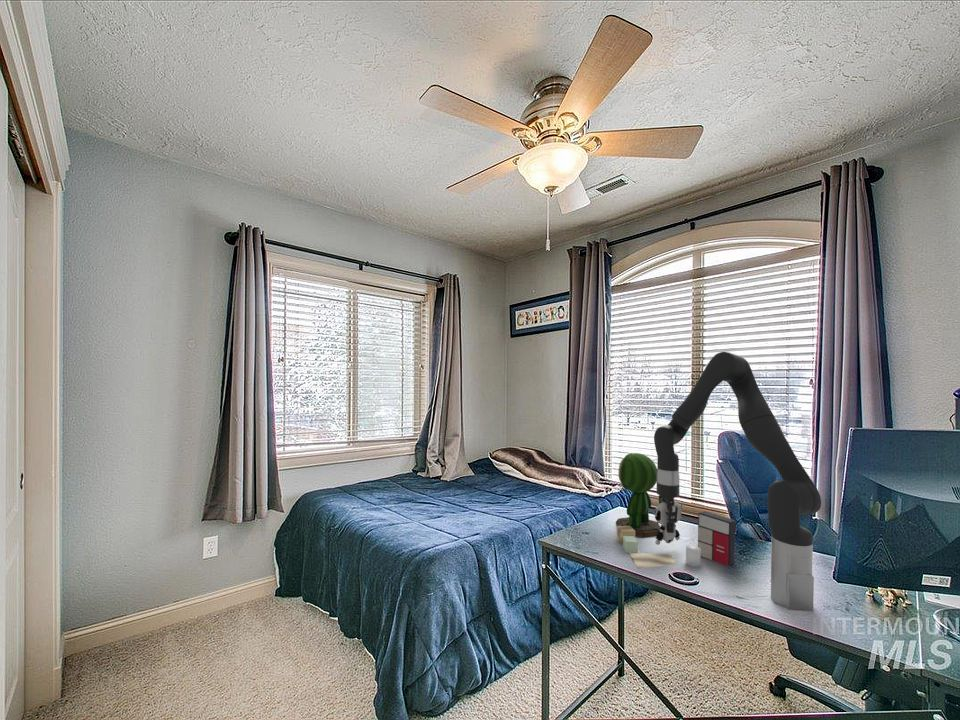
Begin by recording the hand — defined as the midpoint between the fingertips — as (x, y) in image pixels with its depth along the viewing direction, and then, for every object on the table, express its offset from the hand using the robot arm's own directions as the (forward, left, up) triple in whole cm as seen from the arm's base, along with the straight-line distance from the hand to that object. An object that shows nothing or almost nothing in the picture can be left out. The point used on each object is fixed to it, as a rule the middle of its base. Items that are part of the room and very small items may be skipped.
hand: (667, 529), depth 158 cm
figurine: (+20, +5, -8) cm, 22 cm away
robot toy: (+1, 0, -5) cm, 5 cm away
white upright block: (-11, -5, -8) cm, 14 cm away
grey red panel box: (-6, -14, -8) cm, 17 cm away
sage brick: (-1, +13, -8) cm, 15 cm away
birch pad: (-10, +7, -8) cm, 14 cm away
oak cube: (+6, +13, -8) cm, 16 cm away
